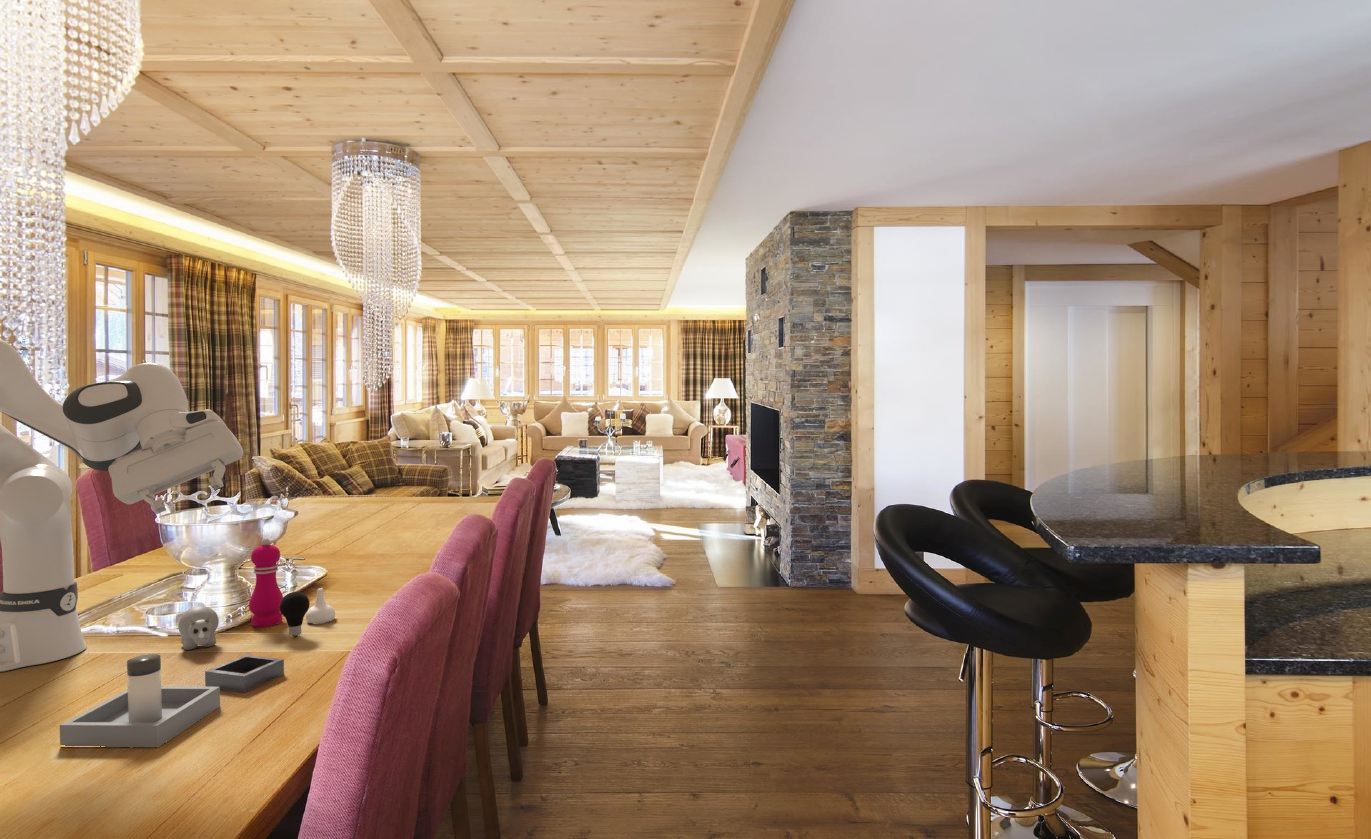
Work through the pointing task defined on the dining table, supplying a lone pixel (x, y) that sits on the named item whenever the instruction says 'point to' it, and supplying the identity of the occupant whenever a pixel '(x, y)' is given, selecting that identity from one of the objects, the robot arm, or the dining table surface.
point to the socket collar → (257, 673)
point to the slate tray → (114, 729)
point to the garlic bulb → (320, 610)
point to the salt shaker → (144, 689)
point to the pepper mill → (265, 586)
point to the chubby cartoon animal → (198, 627)
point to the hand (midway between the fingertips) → (188, 498)
